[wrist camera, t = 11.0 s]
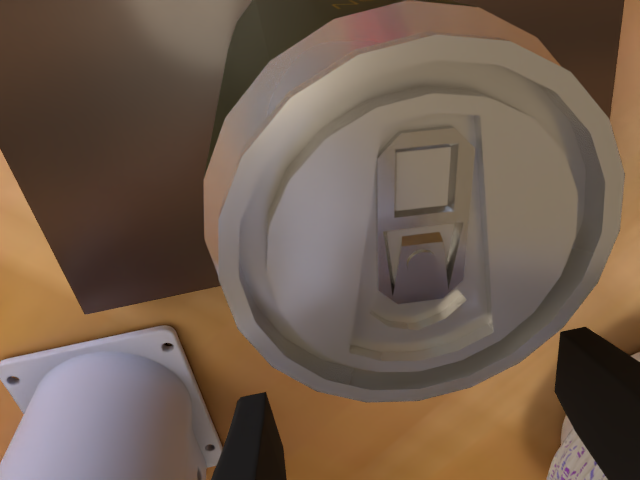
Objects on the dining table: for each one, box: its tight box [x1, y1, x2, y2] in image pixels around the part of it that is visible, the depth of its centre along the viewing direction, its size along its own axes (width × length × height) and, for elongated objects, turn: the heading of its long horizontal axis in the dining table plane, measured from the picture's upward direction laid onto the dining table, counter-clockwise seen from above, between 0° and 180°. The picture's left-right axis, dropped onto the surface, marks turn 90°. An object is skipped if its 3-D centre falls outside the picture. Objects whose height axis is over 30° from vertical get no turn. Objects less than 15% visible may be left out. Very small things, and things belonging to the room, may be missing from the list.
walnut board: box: [0, 0, 624, 314], centre depth 17 cm, size 15×21×2 cm
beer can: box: [203, 0, 625, 402], centre depth 11 cm, size 5×5×12 cm
